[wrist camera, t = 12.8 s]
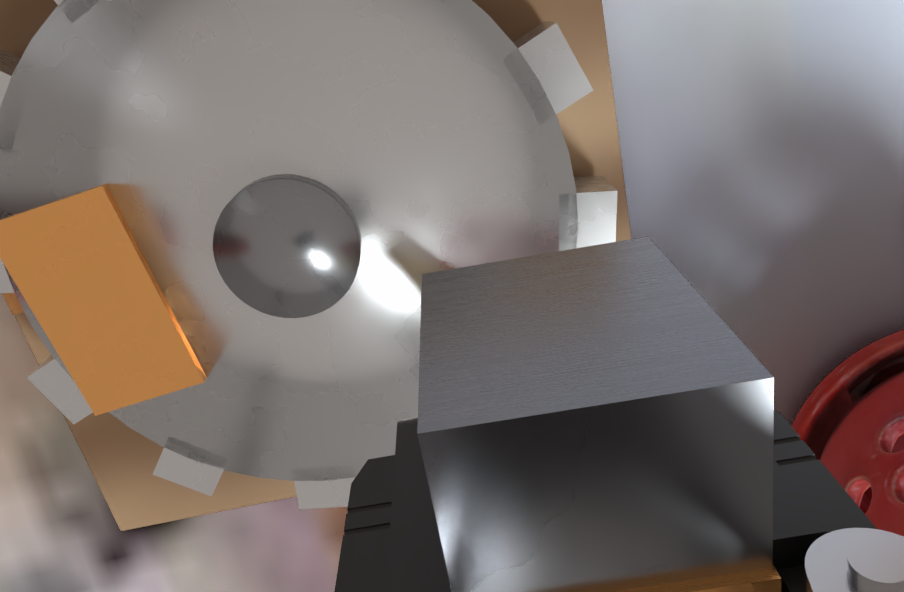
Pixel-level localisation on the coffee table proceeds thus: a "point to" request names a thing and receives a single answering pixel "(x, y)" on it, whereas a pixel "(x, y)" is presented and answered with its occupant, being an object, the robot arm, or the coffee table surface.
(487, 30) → the sprocket
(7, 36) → the board
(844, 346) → the coffee table surface
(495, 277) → the grey rectangular block
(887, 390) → the plant pot
